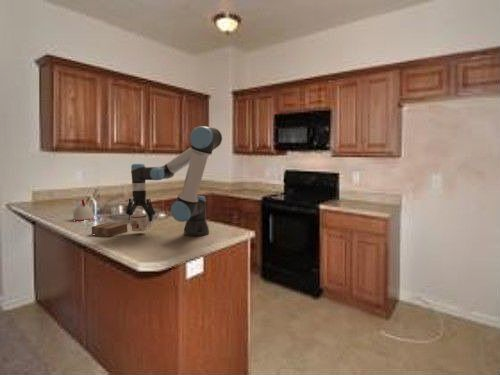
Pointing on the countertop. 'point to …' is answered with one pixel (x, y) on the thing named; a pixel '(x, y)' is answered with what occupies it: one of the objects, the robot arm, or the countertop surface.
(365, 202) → the countertop surface
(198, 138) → the robot arm
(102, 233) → the block
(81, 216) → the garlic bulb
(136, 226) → the teacup with lid
